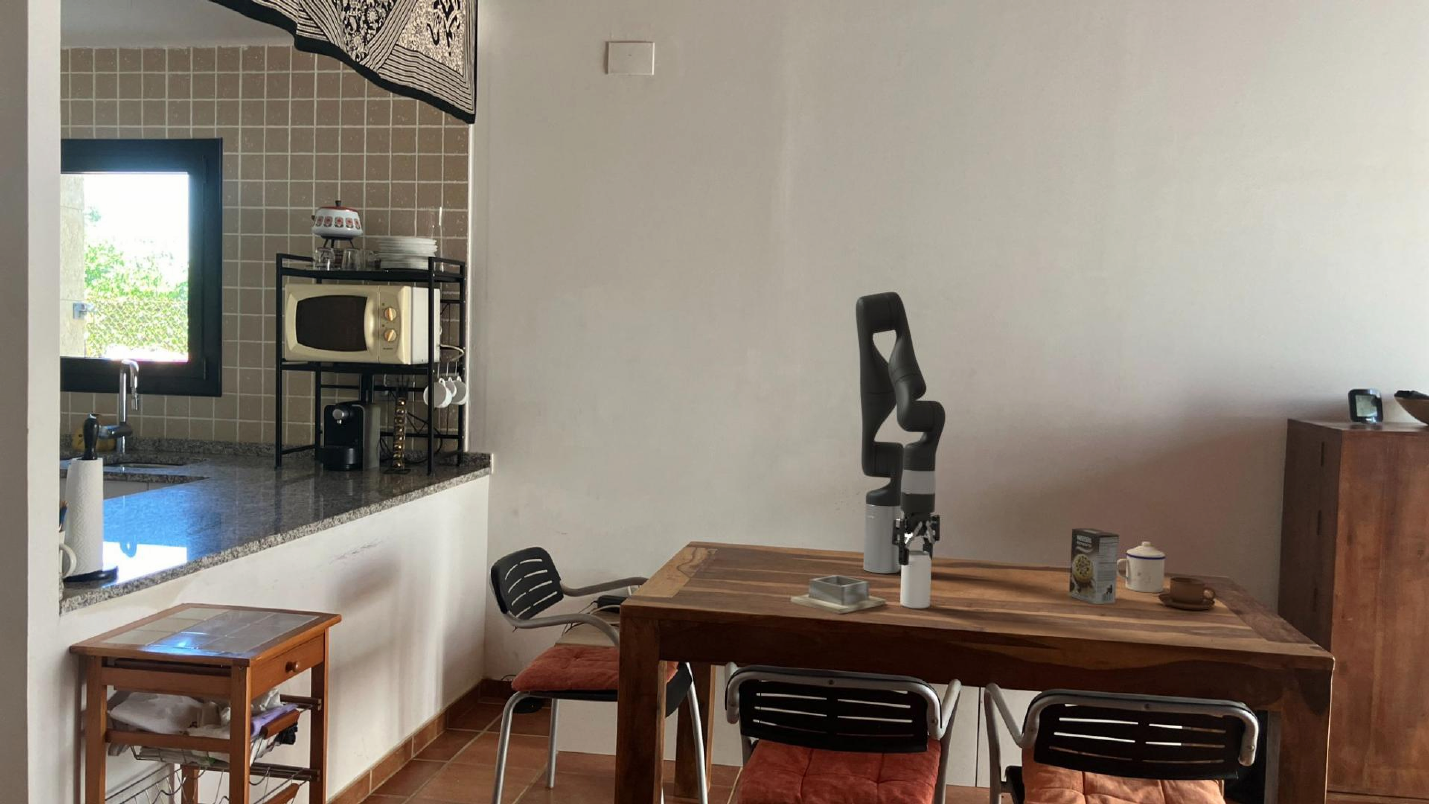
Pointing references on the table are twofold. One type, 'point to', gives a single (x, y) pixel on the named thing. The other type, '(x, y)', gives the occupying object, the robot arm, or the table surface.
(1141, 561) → the teacup with lid
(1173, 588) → the cup and saucer
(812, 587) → the socket
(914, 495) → the robot arm
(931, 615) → the table surface
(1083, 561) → the coffee box
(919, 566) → the can
